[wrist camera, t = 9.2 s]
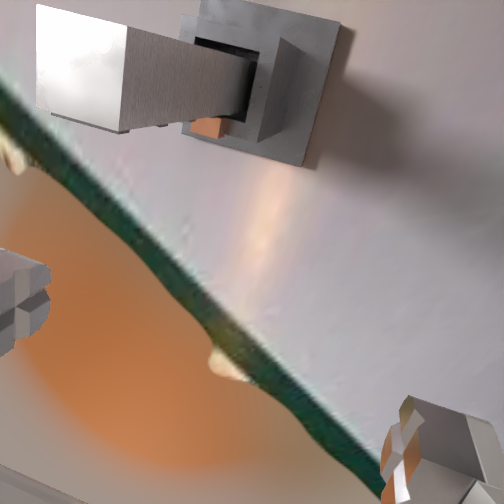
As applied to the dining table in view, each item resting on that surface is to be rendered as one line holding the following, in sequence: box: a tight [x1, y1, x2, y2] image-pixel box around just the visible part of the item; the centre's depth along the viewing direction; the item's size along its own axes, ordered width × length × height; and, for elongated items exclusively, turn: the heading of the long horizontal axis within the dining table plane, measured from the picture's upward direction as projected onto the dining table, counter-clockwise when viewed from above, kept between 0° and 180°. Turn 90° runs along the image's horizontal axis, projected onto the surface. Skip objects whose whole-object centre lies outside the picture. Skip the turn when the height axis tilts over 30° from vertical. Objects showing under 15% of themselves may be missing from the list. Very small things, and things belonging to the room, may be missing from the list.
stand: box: [179, 0, 341, 167], centre depth 38 cm, size 14×14×14 cm
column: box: [36, 4, 258, 134], centre depth 27 cm, size 4×4×22 cm
